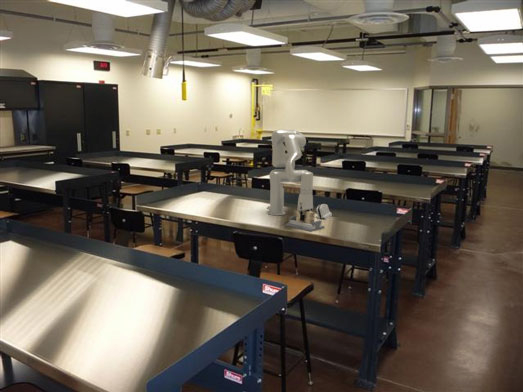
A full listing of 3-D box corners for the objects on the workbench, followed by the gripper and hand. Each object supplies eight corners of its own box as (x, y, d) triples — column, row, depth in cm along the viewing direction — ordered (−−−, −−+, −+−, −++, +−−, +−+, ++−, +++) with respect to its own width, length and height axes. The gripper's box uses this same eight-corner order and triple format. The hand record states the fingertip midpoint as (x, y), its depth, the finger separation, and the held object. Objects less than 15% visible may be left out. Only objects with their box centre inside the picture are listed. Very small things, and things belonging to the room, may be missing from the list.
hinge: (325, 219, 305) (321, 205, 305) (319, 221, 307) (314, 207, 307) (332, 215, 320) (328, 201, 320) (326, 216, 322) (322, 203, 322)
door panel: (296, 223, 288) (296, 209, 286) (299, 222, 290) (299, 209, 288) (310, 227, 279) (311, 212, 278) (313, 226, 282) (314, 212, 280)
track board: (285, 225, 287) (285, 217, 286) (299, 222, 296) (299, 214, 296) (310, 231, 273) (310, 223, 272) (324, 228, 283) (324, 219, 282)
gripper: (310, 189, 289) (308, 217, 293) (292, 192, 277) (291, 220, 280) (319, 190, 284) (318, 219, 287) (302, 193, 272) (301, 223, 275)
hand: (305, 219), depth 284 cm, fingers open, 4 cm apart
